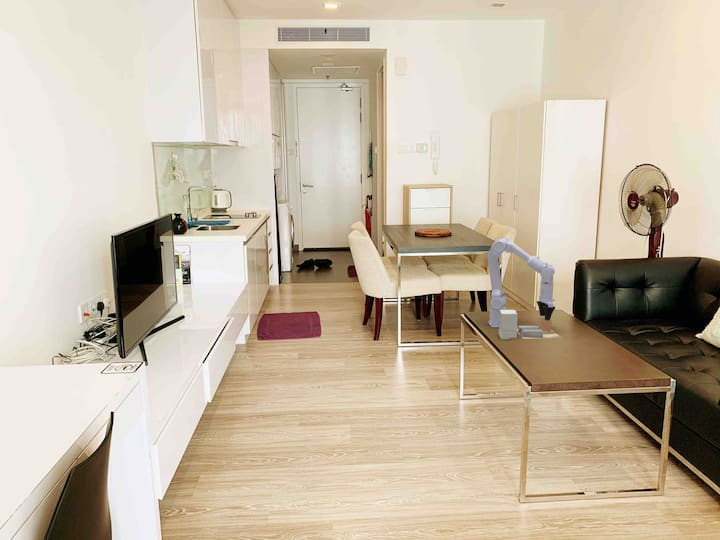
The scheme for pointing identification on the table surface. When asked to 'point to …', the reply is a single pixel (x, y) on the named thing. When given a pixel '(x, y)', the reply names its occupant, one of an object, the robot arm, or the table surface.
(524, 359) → the table surface
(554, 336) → the base board
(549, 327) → the block
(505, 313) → the supplement box
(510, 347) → the table surface
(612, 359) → the table surface
